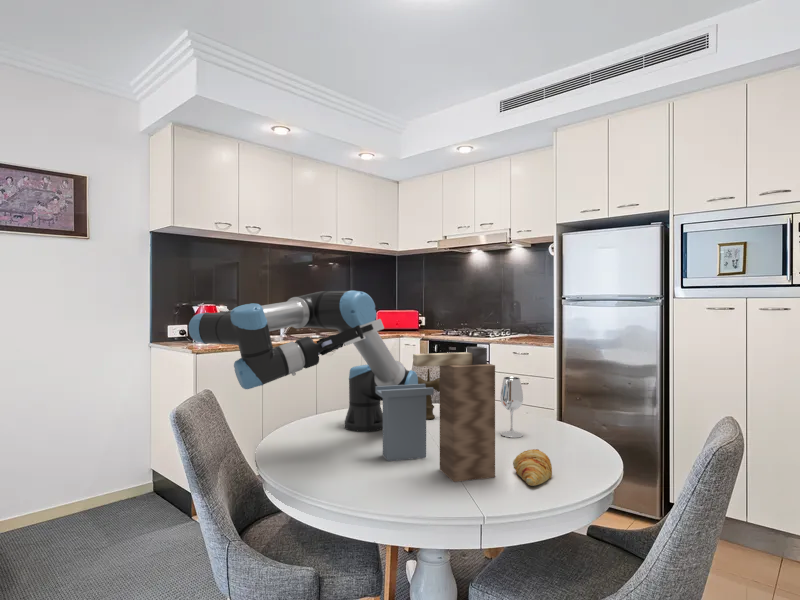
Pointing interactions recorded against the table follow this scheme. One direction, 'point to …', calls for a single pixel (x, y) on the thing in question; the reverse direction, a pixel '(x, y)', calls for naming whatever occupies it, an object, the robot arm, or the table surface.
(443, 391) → the walnut stand
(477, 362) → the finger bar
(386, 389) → the rail stand
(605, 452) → the table surface
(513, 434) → the wineglass
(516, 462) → the croissant
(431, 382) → the kendama
